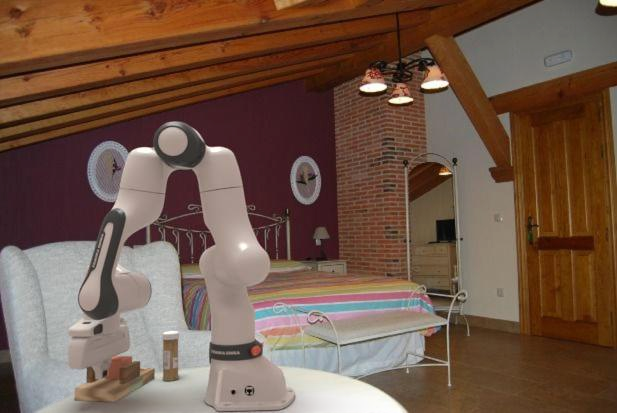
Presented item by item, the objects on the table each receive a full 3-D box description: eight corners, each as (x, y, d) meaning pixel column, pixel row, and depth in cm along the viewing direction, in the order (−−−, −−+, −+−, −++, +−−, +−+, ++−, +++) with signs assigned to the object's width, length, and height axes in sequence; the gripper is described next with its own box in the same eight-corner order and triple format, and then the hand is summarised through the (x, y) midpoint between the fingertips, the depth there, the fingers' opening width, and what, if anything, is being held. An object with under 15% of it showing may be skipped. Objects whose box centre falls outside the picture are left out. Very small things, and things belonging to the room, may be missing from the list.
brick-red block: (131, 374, 128) (132, 355, 128) (121, 379, 123) (122, 360, 123) (115, 373, 128) (115, 355, 129) (104, 378, 124) (105, 359, 124)
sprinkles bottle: (180, 379, 132) (180, 332, 133) (164, 382, 129) (165, 334, 131) (175, 376, 136) (176, 329, 137) (160, 378, 133) (160, 331, 134)
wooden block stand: (154, 378, 133) (154, 354, 134) (114, 401, 114) (114, 373, 114) (120, 377, 135) (120, 353, 136) (74, 400, 116) (75, 371, 116)
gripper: (115, 316, 129) (115, 366, 128) (63, 330, 109) (62, 390, 108) (135, 316, 128) (136, 366, 127) (86, 331, 108) (86, 391, 107)
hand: (101, 377), depth 118 cm, fingers closed
